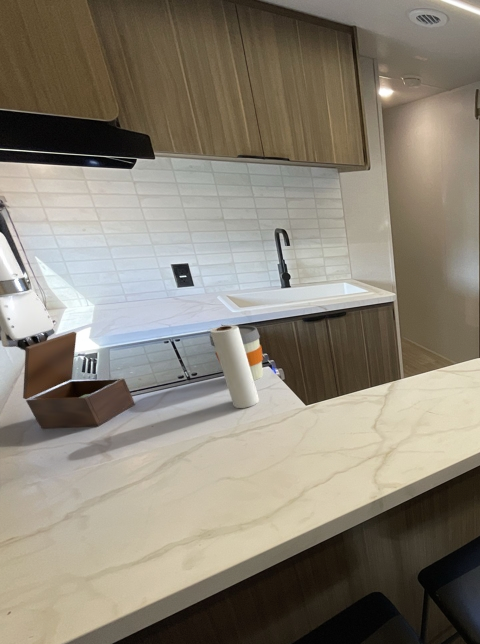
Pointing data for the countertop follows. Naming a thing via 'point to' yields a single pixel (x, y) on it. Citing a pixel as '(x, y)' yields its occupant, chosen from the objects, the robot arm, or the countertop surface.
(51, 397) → the chest
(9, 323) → the robot arm
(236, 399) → the paper towel roll
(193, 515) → the countertop surface
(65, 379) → the lid
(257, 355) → the reusable coffee cup
